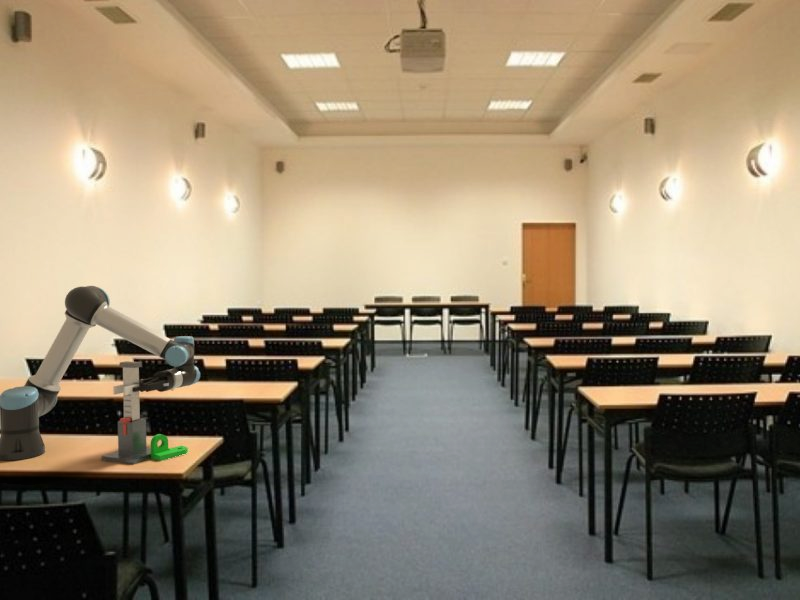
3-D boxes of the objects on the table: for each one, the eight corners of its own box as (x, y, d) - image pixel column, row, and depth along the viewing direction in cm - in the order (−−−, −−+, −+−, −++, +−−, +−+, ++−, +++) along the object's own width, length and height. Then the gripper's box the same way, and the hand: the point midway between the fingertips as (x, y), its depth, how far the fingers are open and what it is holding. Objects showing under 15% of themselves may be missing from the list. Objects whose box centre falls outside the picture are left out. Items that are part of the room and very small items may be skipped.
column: (120, 441, 219) (118, 362, 218) (128, 438, 223) (126, 361, 222) (136, 442, 217) (134, 363, 216) (144, 440, 220) (142, 362, 219)
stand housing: (101, 460, 216) (100, 419, 215) (131, 449, 229) (130, 411, 229) (133, 464, 211) (132, 422, 211) (162, 453, 224) (162, 413, 224)
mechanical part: (160, 461, 215) (159, 438, 215) (150, 458, 219) (150, 435, 218) (191, 453, 224) (190, 431, 224) (181, 450, 228) (181, 429, 228)
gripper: (185, 391, 233) (138, 403, 211) (149, 388, 239) (100, 400, 217) (185, 371, 233) (138, 381, 211) (149, 369, 239) (100, 378, 217)
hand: (119, 390), depth 214 cm, fingers closed on column, 4 cm apart
